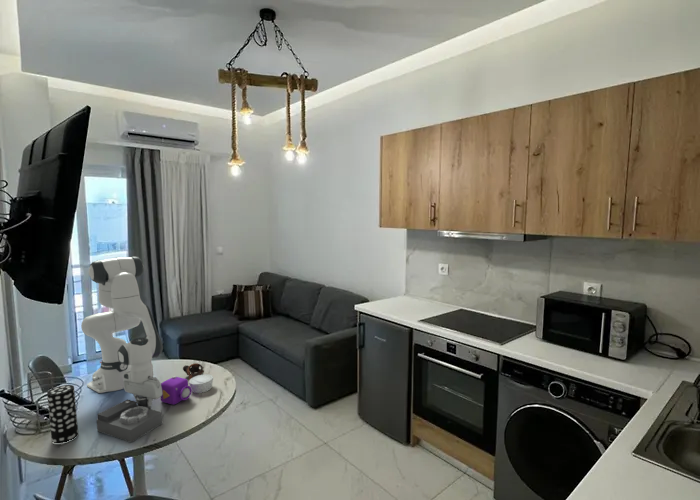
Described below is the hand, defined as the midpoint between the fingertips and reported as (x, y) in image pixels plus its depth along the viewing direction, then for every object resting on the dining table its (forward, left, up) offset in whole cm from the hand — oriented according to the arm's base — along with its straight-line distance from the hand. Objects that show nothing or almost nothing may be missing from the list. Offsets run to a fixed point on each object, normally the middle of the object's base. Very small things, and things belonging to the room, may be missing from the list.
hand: (144, 404), depth 167 cm
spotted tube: (-10, -27, -3) cm, 29 cm away
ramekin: (+9, +25, -3) cm, 27 cm away
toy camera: (+7, +12, -3) cm, 14 cm away
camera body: (+7, -12, -3) cm, 14 cm away
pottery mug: (-6, +34, -3) cm, 35 cm away
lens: (0, 0, -3) cm, 3 cm away
